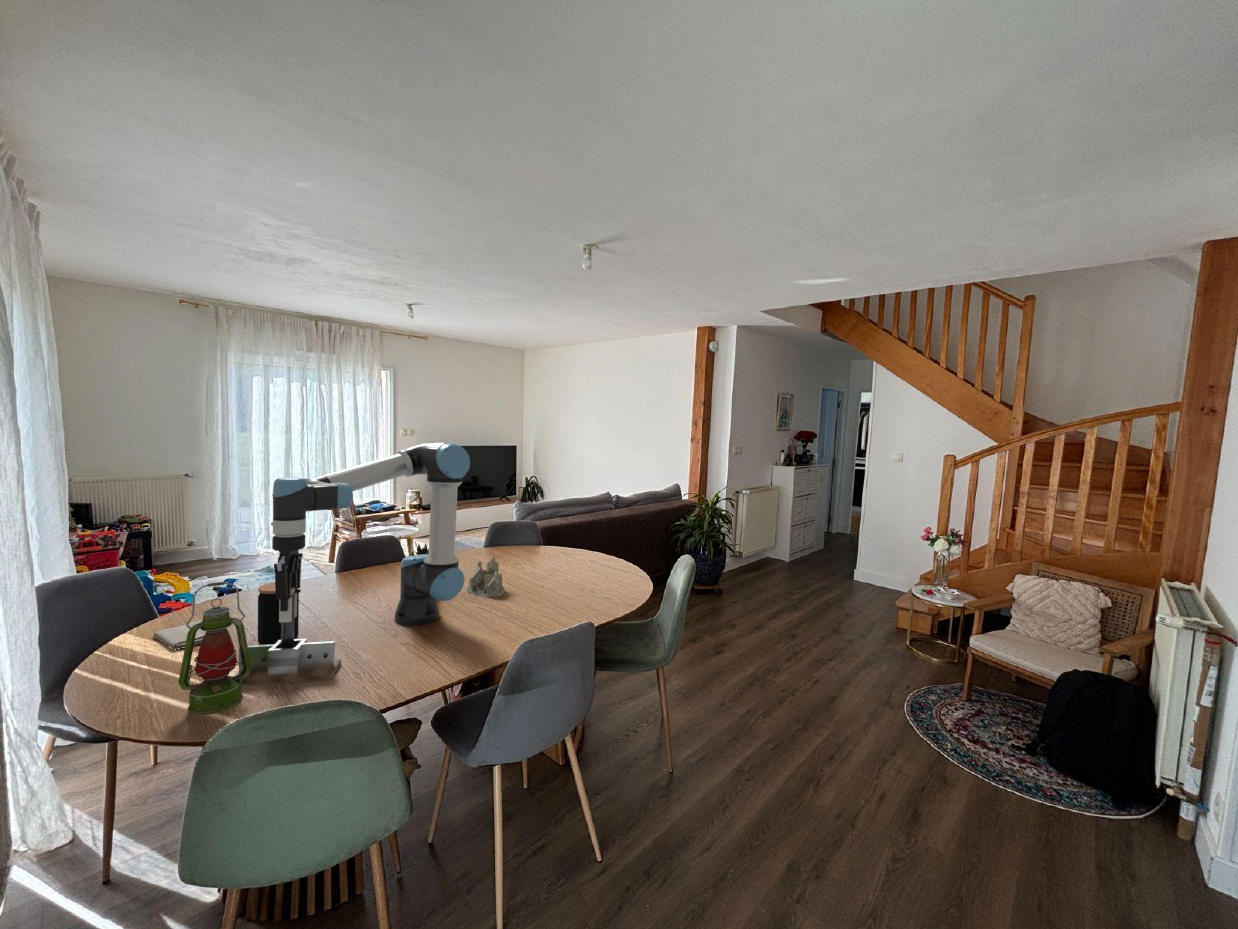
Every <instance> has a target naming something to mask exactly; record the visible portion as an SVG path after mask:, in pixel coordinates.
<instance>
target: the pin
mask: <svg viewBox="0 0 1238 929" xmlns="http://www.w3.org/2000/svg"><path fill="white" fill-rule="evenodd" d="M290 598H292V621H291V622H281V648H294V614H295V588H294V587H291V593H290Z"/></svg>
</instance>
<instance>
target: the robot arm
mask: <svg viewBox="0 0 1238 929" xmlns="http://www.w3.org/2000/svg"><path fill="white" fill-rule="evenodd" d="M470 467H471V460H470V456H469V454H468V452H467V451H466V449H465V448H464V447H462V446H461V445H459V444H455V443H450V442H433V441H430V442H423V443H420V444H417V445H413V446H410V447H407V448H404V449H401V450H398V451H397V453H396V454H394V455H390V456H387V457H383V458H379V459H376V460H372V461H369V462H365V463H362V464H359V465H355V466H352V467H348V468H345V469H341V470H338V471H334V472H330V473H327V474H324V475H321V476H316V477H313V478H304V477H295V476H294V477H291V476H290V477H289V476H288V477H287V476H286V477H285V476H284V477H278V478H276V479H275V480H274V481H273V485H272V486H273V487H272V522H271V523H270V525H271V526H272V534H273V536H272V539H271V540H272V542H271V544H272V545H271V546H272V548H271V549H272V550H274V551H276V552H279V556H278V557H277V563H274V565H273V570H274V582H275V593H276V597H275V599H279V622H291V621H292V598H290V593H291V587H294V588H295V614H294V617H296V616H297V593H299V594H300V593H301V592H302V590H301V580H302V579H301V577H302V559H303V552H299V550H302V549H304V548H305V547H306V535H305V533H307V530H306V529H307V524H306V523H307V520H306V519H307V512H313V511H314V512H315V511H317V512H318V511H328V510H329V511H330V510H331V511H332V510H336V511H337V510H338V511H339V510H342V509H348V508H349V507H351V505H352V503H353V500H354V492H355V491H359V490H361V489H366V488H369V487H372V486H375V485H377V484H381V483H384V482H387V481H390V480H393V479H397V478H400V477H402V476H404V477H406V478H408V477H413V476H416V475H427V476H426V482H427V483H428V484H429V485H430V488H431V489H430V490H431V491H430V512H429V513H430V516H429V517H430V518H429V539H428V540H429V541H428V553H427V554H426V553H425V554H424V553H423V554H415V555H410V556H406V557H403V558H402V560H401V563H400V594H399V596H400V598H399V601H398V604H397V607H396V609H395V611H394V622H395V623H397V624H399V625H405V626H418V625H419V626H420V625H425V624H429V623H431V622H434V621H436V620H437V619H439V617H440V608H439V606H438V603H437V600H438V601H443V602H447V601H450V600H452V599H454V598H456V597H458V595H459V593H460V592H461V591H462V590H463V588H464V584H465V580H466V579H465V574H464V572H463V571H462V570H461V569H459V564H460V563H459V562H460V561H459V560H460V559H459V558H458V557H457V556H456V555H455V553H456V551H455V550H456V533H457V532H456V530H457V529H456V528H457V509H458V506H457V505H458V488H459V486H461V485H462V483H463V479H464V478H463V477H464V476H466V475H467V473H468V472H469V470H470Z"/></svg>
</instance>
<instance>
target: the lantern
mask: <svg viewBox="0 0 1238 929" xmlns="http://www.w3.org/2000/svg"><path fill="white" fill-rule="evenodd" d="M225 585H228V586H232V587H233V588H234V589H235V591H236V600H237V601H236V602H237V611H238V612H239V613H240V615H242V617H241V619H240V618H238V617H231V616H230V610H231V609H230V608H229V607H228V606H227V607H225V606H221V605H222V603H223V600H222V599H221V598H216V599H212V600H211V602H210V606H211V608H209V609H206V610H204V611H203V612H202V615H203V616H202V621H201V622H200V623H198V624H195V625H193V626H192V627H190V626H188V624H189V623H191V622H192V619H193V618H194V616H195V605H196V596H197V594H198V592H200V590H202V589H203V588H206V587H208V588H209V587H217V586H218V587H219V586H225ZM214 601H220V603H219V604H218V605H216V606H215V605H214V604H213V602H214ZM240 606H241V605H240V593H239V588H238V586H236V585H235V584H233V583H231V582H225V581H220V582H218V581H217V582H209V583H207V584H205V585H202V586H200V587H198V589H197V590H196V591H195V592H194V594H193V596H192V611H191V615H190V618H189V619H188V621H187V622H186V626H187V627H188V628H189V629H190V630H189V631H188V634H187V639H186V644H185V649H183V656H182V661H181V664H180V665H181V666H180V671H179V677H178V684H179V687H180V689H181V690H182V691H189V694H188V696H189V697H188V698H189V699H188V704H189V705H188V707H187V712H188V714H189V715H193V716H209V715H215V714H219V713H223V712H225V711H228V710H230V709H233V708H234V707H236V706H238V705H239V704H240V703H241V702H243V699H244V694H243V693H242V692H243V691H242V690H243V685H242V680H241V679H242V678H244V677H246V676H248V675H249V672H250V670H251V662H250V656H249V651H248V646H249V645H248V640H247V635H246V630H245V625H244V622H243V620H244V619H245V617H246V615H245V613H244V612H243V610H242V609H241V608H240ZM232 624H233V625H234V626H235V630H236V635H237V641H238V646H239V647H240V652H241V657H242V663H239V661H238V659H237V650H235V645H234V641H233V639H232V636H231V634H230V632H229V631H228V628H229V627H230V626H232ZM200 628H201V630H203V631H206V633H205V635H204V638H203V640H202V643H201V644H200V646H199V648H198V652H197V656H196V657H194V659H193V661H194V662H195V667H194V669H193V664H191V663H192V658H193V653H194V652H193V651H194V647H195V646H194V642H195V636H196V632H197V631H198V630H199V629H200ZM239 647H238V648H239ZM239 664H240V665H243V668H244V669H243V671H242V674H239V675H237V676H234V675H233V676H234V677H233V676H232V675H230V673H231V672H232V671H233V670H235V669H236V666H239ZM194 671H195V673H193V672H194ZM192 676H197V677H200V678H202V680H203V681H201V682H200V683H197V684H193V683H192V684H190V681H191V677H192Z"/></svg>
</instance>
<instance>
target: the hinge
mask: <svg viewBox="0 0 1238 929" xmlns="http://www.w3.org/2000/svg"><path fill="white" fill-rule="evenodd" d="M247 646H248V651H249V656H250V662H251V670H250V672H265V671H268V676H278V675H293V674H298V673H299V672H300V670H301V669H311V668H327V667H334V666H335V659H336V640H333V641H332V640H331V641H314V642H308V638H297V639H294V648H281V640H278V641H277V642H276V643H275V644H272V645H260V644H255V645H247ZM238 662H239V663H242V657H241V652H240V647H238ZM243 669H244V668H243V665H240V664H239V665H238V672H239V673H242V671H243Z"/></svg>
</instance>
